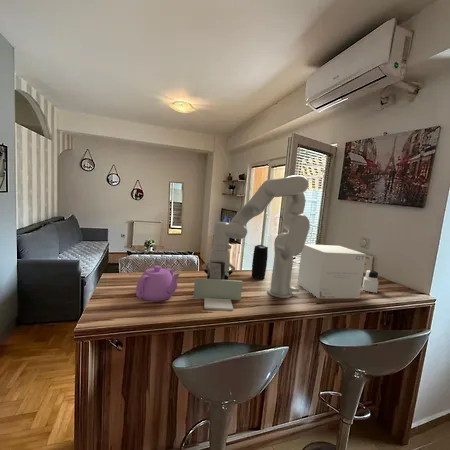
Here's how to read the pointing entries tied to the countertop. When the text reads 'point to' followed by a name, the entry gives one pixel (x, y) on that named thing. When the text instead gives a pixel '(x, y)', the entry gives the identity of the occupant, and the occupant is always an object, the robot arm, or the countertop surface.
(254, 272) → the portable speaker
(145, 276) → the teapot
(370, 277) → the medicine bottle
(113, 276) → the countertop surface
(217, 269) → the coffee box
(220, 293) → the screen
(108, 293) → the countertop surface
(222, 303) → the mat
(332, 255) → the cube
